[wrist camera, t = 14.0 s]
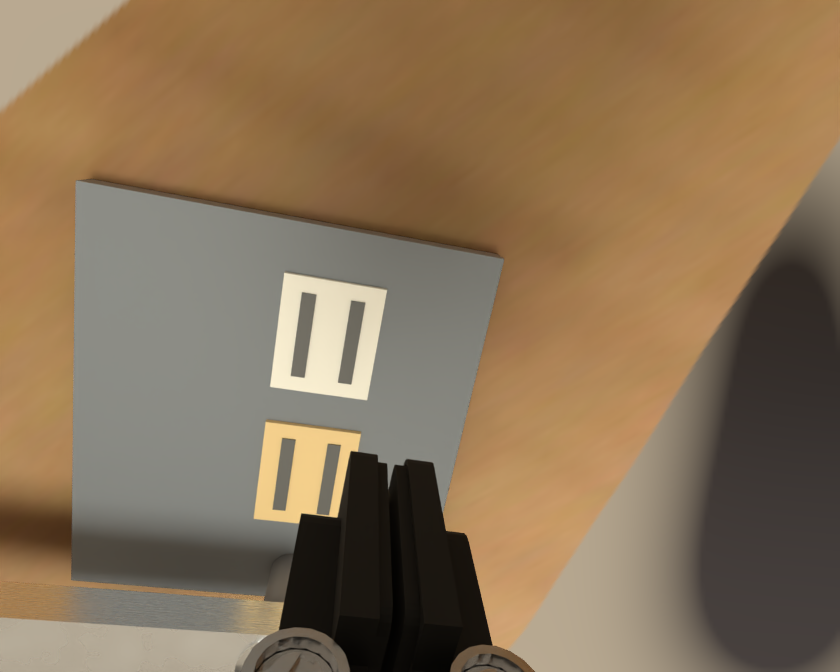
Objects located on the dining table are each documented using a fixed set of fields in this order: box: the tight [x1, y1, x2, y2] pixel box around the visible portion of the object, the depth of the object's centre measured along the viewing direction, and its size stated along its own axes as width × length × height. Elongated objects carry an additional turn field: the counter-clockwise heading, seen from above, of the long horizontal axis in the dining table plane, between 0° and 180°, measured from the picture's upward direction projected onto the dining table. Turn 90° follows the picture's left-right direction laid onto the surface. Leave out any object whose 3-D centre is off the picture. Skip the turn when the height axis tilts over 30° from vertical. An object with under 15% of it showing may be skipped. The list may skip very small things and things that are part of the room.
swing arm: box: [0, 581, 284, 672], centre depth 25 cm, size 23×4×2 cm, turn 79°
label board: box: [71, 179, 504, 603], centre depth 28 cm, size 22×20×6 cm
